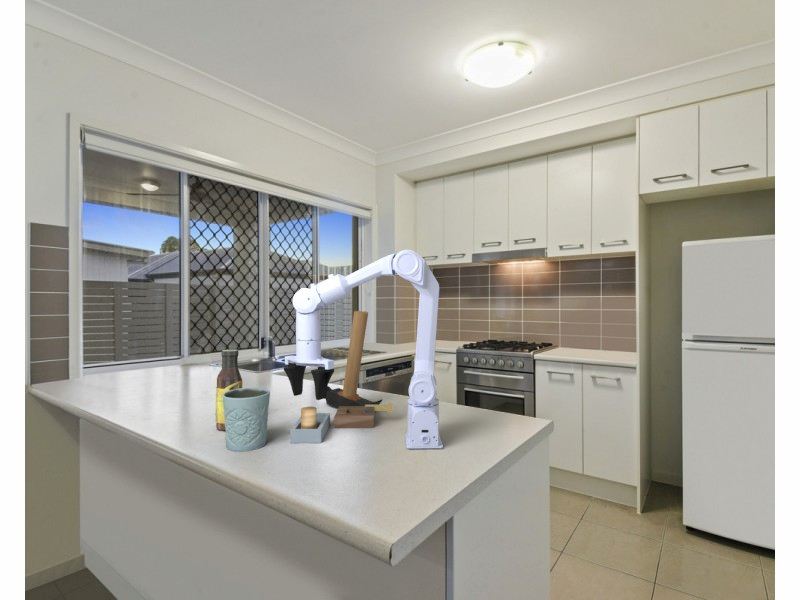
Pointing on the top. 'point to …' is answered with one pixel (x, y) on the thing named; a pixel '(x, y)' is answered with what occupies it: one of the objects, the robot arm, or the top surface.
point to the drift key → (381, 407)
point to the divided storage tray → (310, 430)
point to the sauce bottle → (226, 383)
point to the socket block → (354, 417)
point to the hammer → (351, 368)
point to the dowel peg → (309, 418)
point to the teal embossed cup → (246, 418)
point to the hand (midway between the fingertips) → (308, 397)
